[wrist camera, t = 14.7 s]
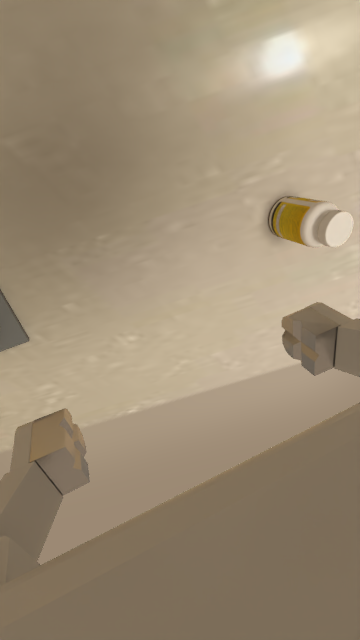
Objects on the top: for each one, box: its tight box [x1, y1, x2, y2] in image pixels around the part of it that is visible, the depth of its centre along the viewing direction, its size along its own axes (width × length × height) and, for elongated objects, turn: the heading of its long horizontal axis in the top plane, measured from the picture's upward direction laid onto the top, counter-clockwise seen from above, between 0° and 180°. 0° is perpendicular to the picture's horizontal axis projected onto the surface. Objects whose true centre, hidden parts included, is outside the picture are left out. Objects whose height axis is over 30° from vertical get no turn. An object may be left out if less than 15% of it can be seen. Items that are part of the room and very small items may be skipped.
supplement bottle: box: [269, 196, 353, 248], centre depth 38 cm, size 5×5×10 cm
